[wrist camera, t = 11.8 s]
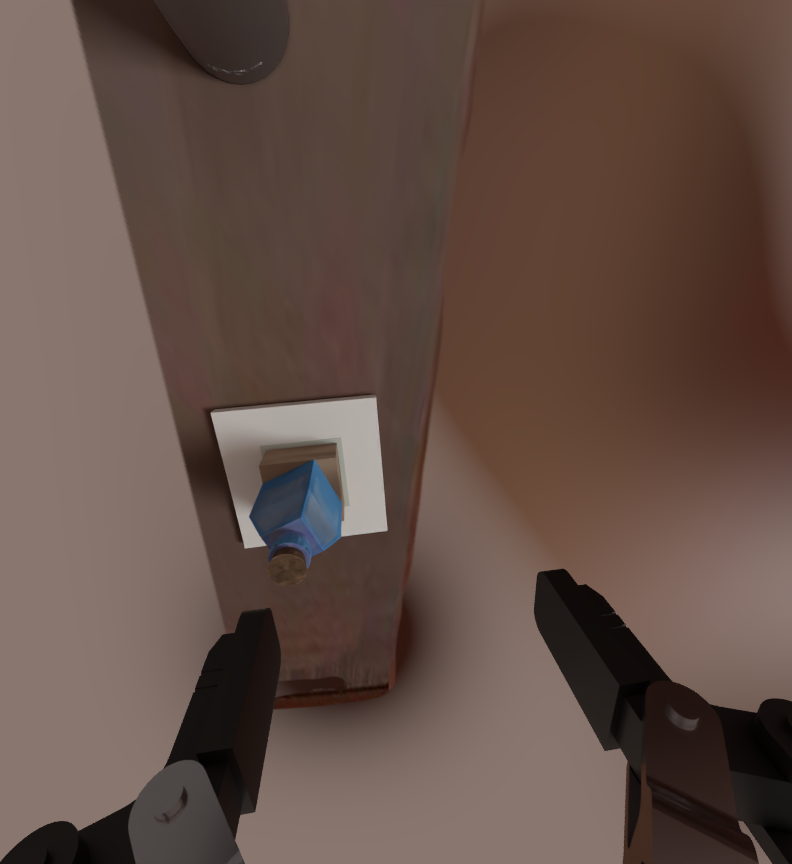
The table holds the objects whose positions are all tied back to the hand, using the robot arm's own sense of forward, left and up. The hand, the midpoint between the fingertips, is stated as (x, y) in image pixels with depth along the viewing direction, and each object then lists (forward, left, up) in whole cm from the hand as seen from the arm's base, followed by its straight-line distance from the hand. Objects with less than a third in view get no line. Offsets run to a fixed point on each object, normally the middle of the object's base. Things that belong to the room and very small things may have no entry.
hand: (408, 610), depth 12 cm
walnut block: (+12, -8, -33) cm, 36 cm away
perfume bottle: (+12, -8, -29) cm, 32 cm away
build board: (+12, -8, -34) cm, 37 cm away
